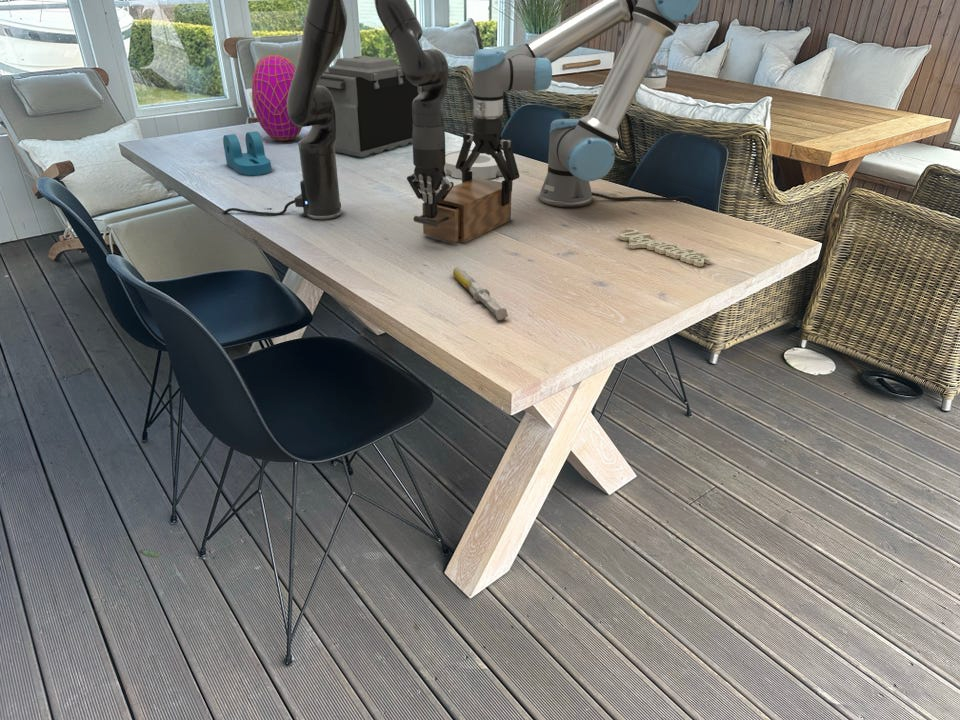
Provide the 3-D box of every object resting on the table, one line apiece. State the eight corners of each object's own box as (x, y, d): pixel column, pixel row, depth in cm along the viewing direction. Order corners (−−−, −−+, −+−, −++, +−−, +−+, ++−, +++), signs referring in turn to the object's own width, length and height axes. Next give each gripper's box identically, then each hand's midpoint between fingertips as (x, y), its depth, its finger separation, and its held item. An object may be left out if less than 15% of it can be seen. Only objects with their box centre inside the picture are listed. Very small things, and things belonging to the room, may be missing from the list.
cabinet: (463, 243, 172) (463, 204, 167) (428, 234, 178) (427, 196, 173) (510, 220, 187) (511, 184, 182) (476, 212, 193) (476, 177, 188)
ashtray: (443, 160, 241) (442, 148, 239) (509, 161, 240) (509, 149, 238) (437, 178, 221) (437, 166, 219) (509, 180, 220) (509, 167, 218)
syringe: (449, 274, 155) (449, 263, 153) (465, 272, 156) (464, 260, 154) (490, 323, 135) (491, 310, 133) (508, 319, 136) (508, 307, 134)
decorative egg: (293, 132, 276) (283, 50, 261) (319, 140, 264) (310, 56, 249) (249, 139, 265) (236, 54, 250) (273, 148, 253) (261, 60, 238)
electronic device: (383, 133, 276) (378, 52, 261) (425, 141, 265) (422, 56, 250) (314, 150, 251) (304, 61, 235) (358, 160, 240) (350, 67, 224)
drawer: (440, 249, 166) (440, 217, 162) (408, 240, 171) (406, 209, 167) (500, 220, 184) (501, 191, 180) (469, 213, 189) (469, 184, 185)
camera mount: (227, 164, 233) (221, 132, 227) (257, 160, 238) (252, 129, 233) (244, 176, 220) (239, 143, 215) (276, 172, 225) (271, 139, 220)
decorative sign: (605, 235, 174) (629, 227, 180) (604, 239, 175) (629, 230, 181) (694, 266, 158) (718, 256, 163) (693, 270, 158) (717, 260, 164)
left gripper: (396, 143, 159) (400, 216, 167) (441, 151, 152) (443, 226, 161) (417, 137, 164) (420, 208, 173) (461, 145, 157) (462, 218, 166)
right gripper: (441, 112, 177) (442, 195, 188) (519, 124, 165) (516, 212, 176) (458, 108, 182) (459, 189, 193) (535, 119, 171) (531, 205, 182)
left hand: (431, 217), depth 167 cm, fingers closed
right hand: (486, 200), depth 185 cm, fingers closed on cabinet, 11 cm apart
